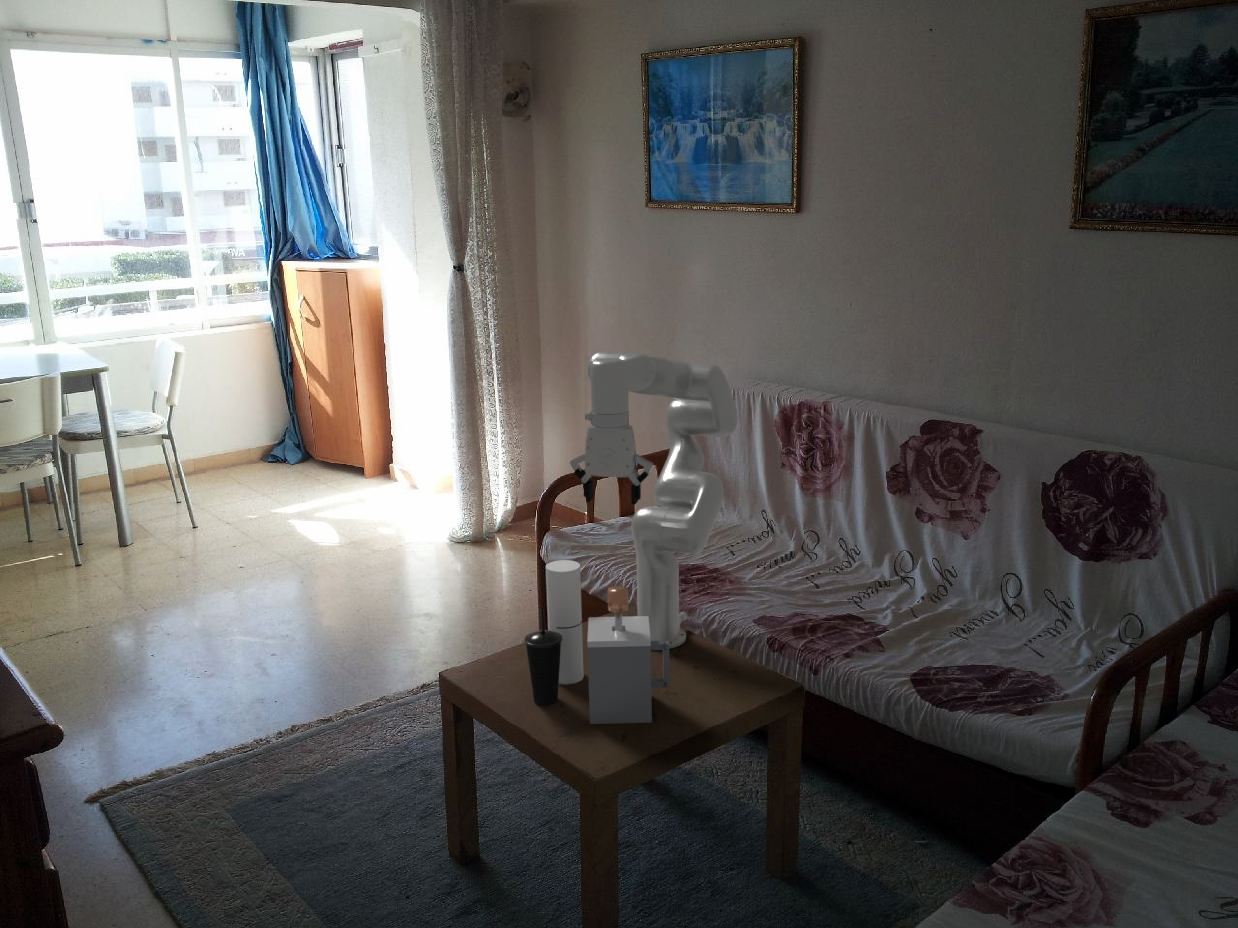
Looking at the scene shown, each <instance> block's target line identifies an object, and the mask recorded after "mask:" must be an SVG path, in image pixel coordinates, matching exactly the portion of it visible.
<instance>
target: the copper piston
mask: <svg viewBox="0 0 1238 928" xmlns="http://www.w3.org/2000/svg"><path fill="white" fill-rule="evenodd" d="M607 610H608V611H609V612H612V613H614V617H615V631H622V617H623V613H624V612H628V610H629V588H628V587H627V586H623V585H612V586H610V587H608V588H607Z"/></svg>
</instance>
